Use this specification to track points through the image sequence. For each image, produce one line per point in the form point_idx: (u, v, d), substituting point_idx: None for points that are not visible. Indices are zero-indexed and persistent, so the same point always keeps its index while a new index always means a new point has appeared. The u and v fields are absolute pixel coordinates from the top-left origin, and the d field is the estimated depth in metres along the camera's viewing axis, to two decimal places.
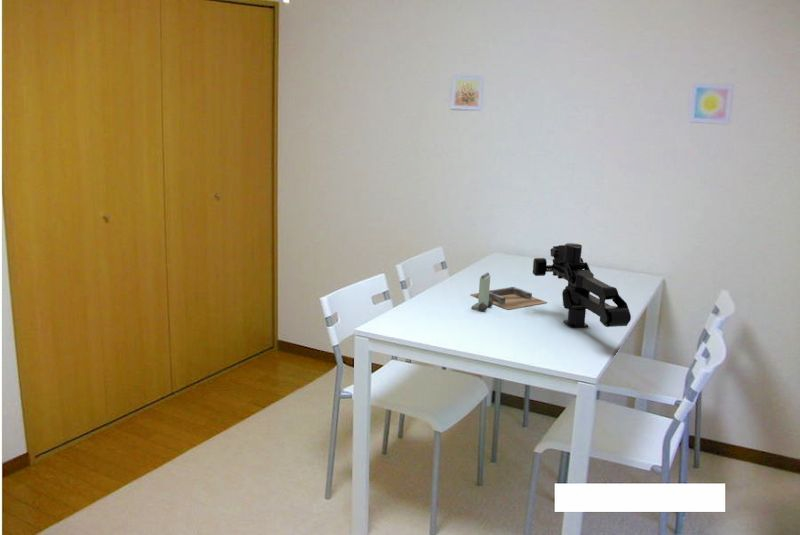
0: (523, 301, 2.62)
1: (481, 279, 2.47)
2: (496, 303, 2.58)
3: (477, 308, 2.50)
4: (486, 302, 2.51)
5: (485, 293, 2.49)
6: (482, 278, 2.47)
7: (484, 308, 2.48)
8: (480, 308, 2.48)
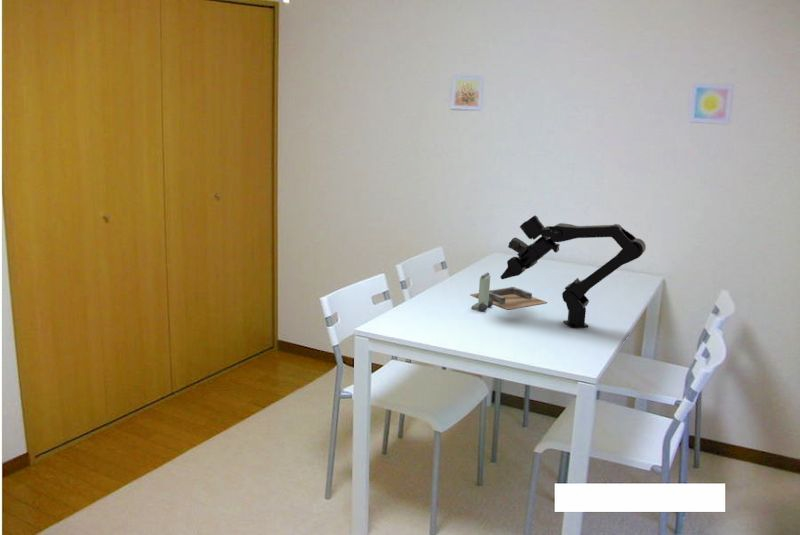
0: (523, 301, 2.62)
1: (481, 279, 2.47)
2: (496, 303, 2.58)
3: (477, 308, 2.50)
4: (486, 302, 2.51)
5: (485, 293, 2.49)
6: (482, 278, 2.47)
7: (484, 308, 2.48)
8: (480, 308, 2.48)
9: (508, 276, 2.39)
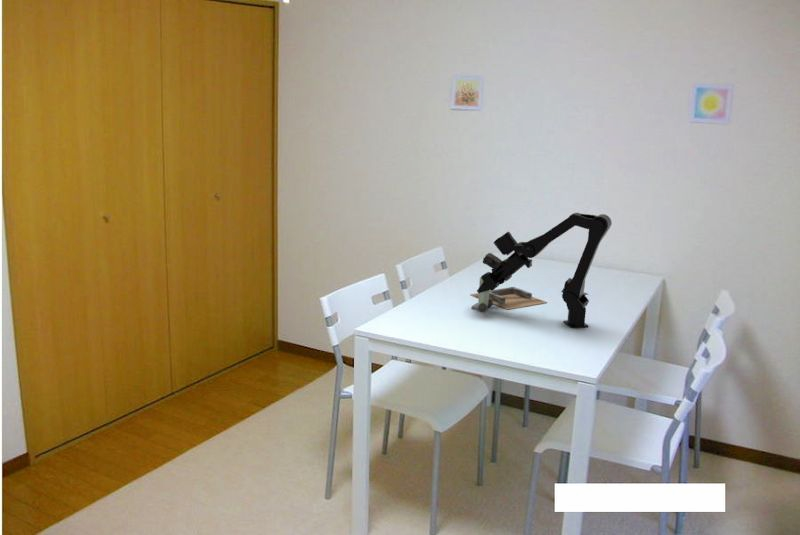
0: (523, 301, 2.62)
1: (481, 279, 2.47)
2: (496, 303, 2.58)
3: (477, 308, 2.50)
4: (486, 302, 2.51)
5: (485, 293, 2.49)
6: None
7: (484, 308, 2.48)
8: (480, 308, 2.48)
9: (484, 290, 2.46)
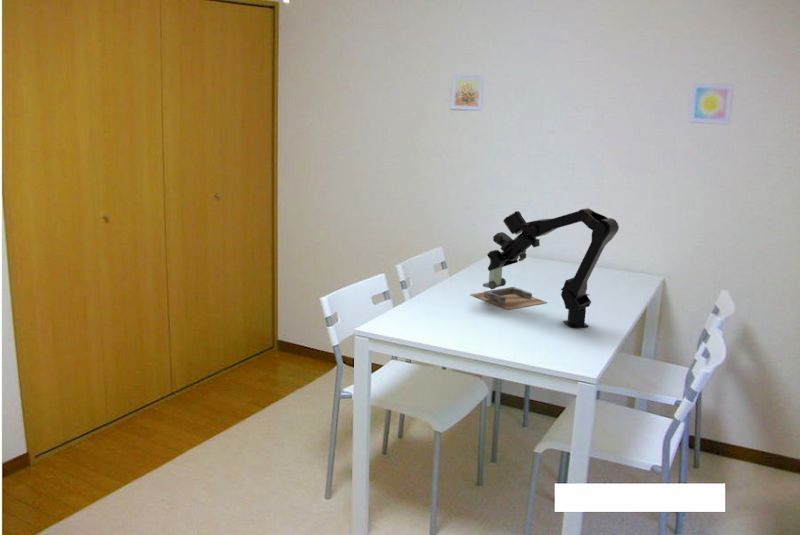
0: (523, 301, 2.62)
1: None
2: (496, 303, 2.58)
3: (488, 286, 2.56)
4: (498, 280, 2.56)
5: (496, 271, 2.54)
6: None
7: (493, 286, 2.53)
8: (490, 286, 2.54)
9: (493, 268, 2.51)
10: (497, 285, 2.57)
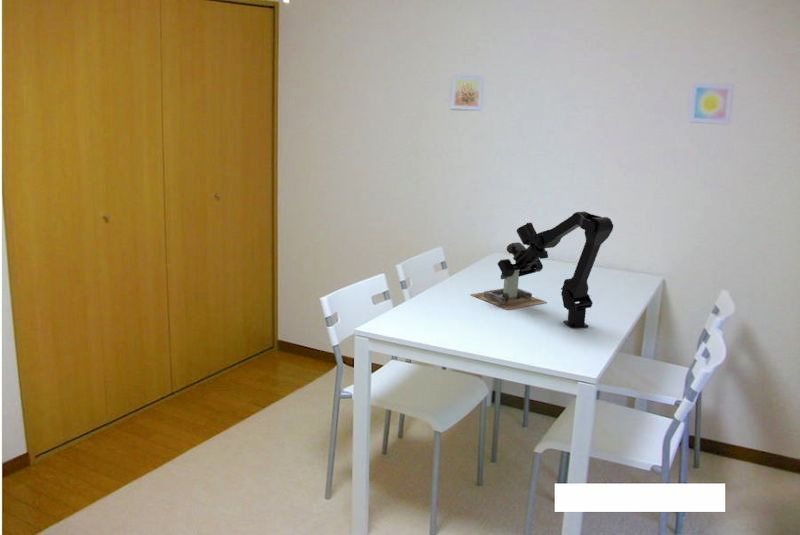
0: (523, 301, 2.62)
1: None
2: (496, 303, 2.58)
3: None
4: (513, 293, 2.63)
5: (510, 284, 2.62)
6: None
7: (506, 297, 2.61)
8: None
9: (504, 277, 2.58)
10: (512, 297, 2.64)
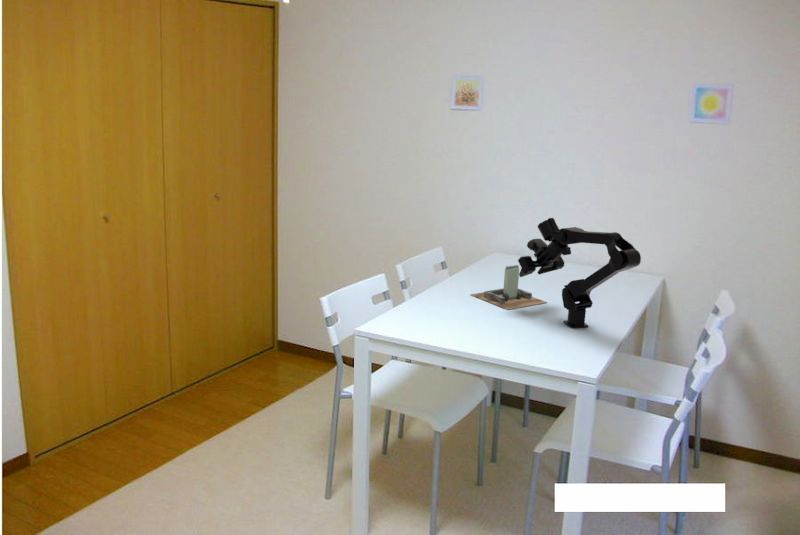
0: (523, 301, 2.62)
1: (506, 270, 2.61)
2: (496, 303, 2.58)
3: None
4: (513, 293, 2.63)
5: (510, 284, 2.62)
6: (506, 269, 2.60)
7: (506, 297, 2.61)
8: None
9: (523, 274, 2.48)
10: (512, 297, 2.64)
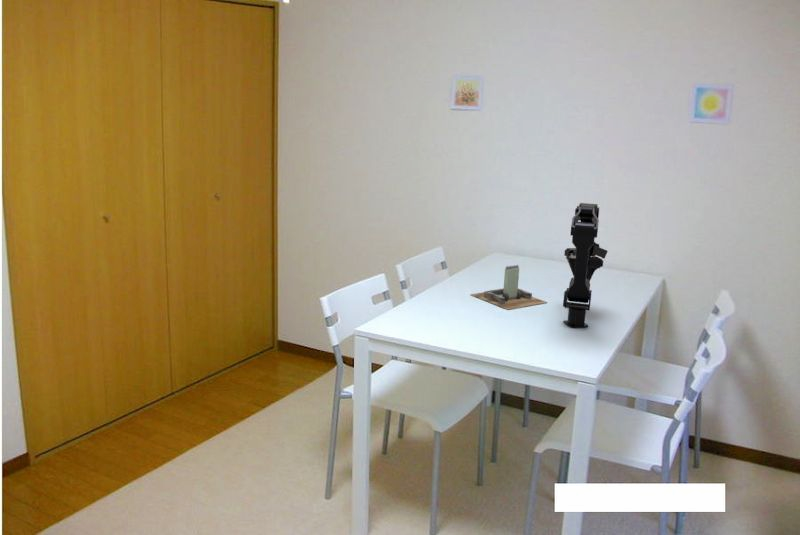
0: (523, 301, 2.62)
1: (506, 270, 2.61)
2: (496, 303, 2.58)
3: None
4: (513, 293, 2.63)
5: (510, 284, 2.62)
6: (506, 269, 2.60)
7: (506, 297, 2.61)
8: None
9: None
10: (512, 297, 2.64)
